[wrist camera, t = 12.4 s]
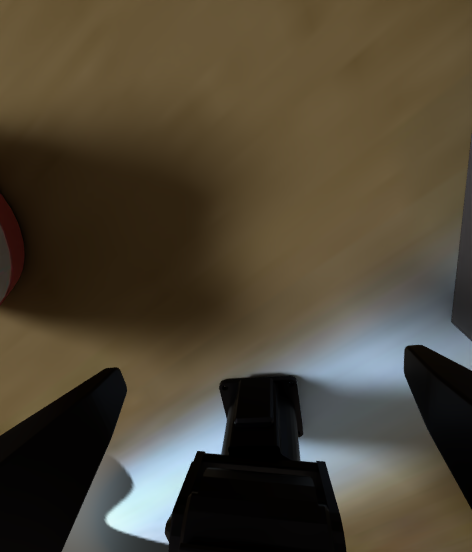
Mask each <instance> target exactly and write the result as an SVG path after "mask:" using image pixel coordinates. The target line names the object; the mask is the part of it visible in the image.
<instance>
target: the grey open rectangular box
mask: <svg viewBox="0 0 472 552" xmlns="http://www.w3.org/2000/svg"><path fill="white" fill-rule="evenodd" d="M451 322H452V323H453V324H454V325H455V326H456V327H457V328H458V329H459V330H460V331H461V332H462V333H464V334H465V335H466V336H467V337H468V338H469V339H470V340H471V341H472V136H471V145H470V154H469V164H468V173H467V182H466V191H465V200H464V209H463V218H462V228H461V237H460V246H459V255H458V264H457V273H456V282H455V291H454V301H453V310H452V319H451Z"/></svg>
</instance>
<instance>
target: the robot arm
mask: <svg viewBox="0 0 472 552" xmlns="http://www.w3.org/2000/svg"><path fill="white" fill-rule="evenodd" d="M404 374H405V377H406V380H407V382H408V385H409V387H410V389H411V392H412V394H413V396H414V399H415V401H416V404H417V406H418V408H419V411H420V413H421V416H422V418H423V420H424V422H425V425H426V427H427V429H428V431H429V433H430V435H431V437H432V439H433V440H434V442H435V444H436V446H437V448H438V449H439V451H440V453H441V455H442V457H443V459H444V460H445V462H446V464H447V466H448V468H449V469H450V471H451V473H452V475H453V477H454V478H455V480H456V482H457V484H458V486H459V487H460V489H461V491H462V493H463V495H464V496H465V498H466V500H467V502H468V504H469V506H470V507H471V509H472V371H471V370H469V369H467V368H465V367H463V366H462V365H460V364H458V363H456V362H454V361H452V360H450V359H448V358H446V357H444V356H442V355H440V354H438V353H437V352H435V351H433V350H431V349H429V348H427V347H425V346H423V345H410V346H407V347H406V348H405V352H404ZM289 382H293V383H289ZM224 386H227V387H224ZM219 389H220V393H221V397H222V401H223V405H224V409H225V413H226V417H227V423H226V429H225V435H224V441H223V447H222V453H221V454H209V453H205V452H203V451H197V453H196V456H195V458H194V461H193V462H192V463H191V465H190V468H189V470H188V473H187V475H186V478H185V481H184V483H183V486H182V488H181V491H180V493H179V496H178V498H177V501H176V504H175V506H174V509H173V512H172V514H171V516H170V517H169V519H168V521H167V523H166V527H165V535H166V537H167V539H168V541H169V552H346V544H345V537H344V531H343V526H342V521H341V517H340V513H339V509H338V506H337V502H336V499H335V495H334V492H333V488H332V485H331V481H330V478H329V474H328V471H327V467H326V463H325V462H323V461H316V462H305V461H300V451H299V441H298V437H301V436H302V435H303V427H302V419H301V411H300V403H299V395H298V387H297V380H296V378H295V377H293V376H283V377H267V378H251V379H234V380H223V381H221V382H220V386H219ZM126 393H127V386H126V383H125V381H124V378H123V376H122V373H121V371H120V369H119V368H117V367H114V368H106V369H104V370H102V371H101V372H99V373H98V374H96V375H94V376H93V377H91V378H90V379H88V380H87V381H85V382H83V383H82V384H80V385H79V386H77V387H76V388H74V389H73V390H71V391H69V392H68V393H66V394H65V395H63V396H62V397H60V398H58V399H57V400H55V401H54V402H52V403H51V404H49V405H48V406H46V407H44V408H43V409H41V410H40V411H38V412H37V413H35V414H33V415H32V416H30V417H29V418H27V419H26V420H24V421H22V422H21V423H19V424H18V425H16V426H15V427H13V428H12V429H10V430H8V431H7V432H5V433H4V434H2V435H1V436H0V552H61V551H62V549H63V547H64V545H65V542H66V540H67V538H68V536H69V534H70V531H71V529H72V527H73V524H74V522H75V520H76V518H77V515H78V513H79V511H80V508H81V506H82V504H83V502H84V499H85V497H86V495H87V493H88V490H89V488H90V486H91V484H92V481H93V479H94V476H95V474H96V472H97V470H98V467H99V465H100V463H101V461H102V459H103V456H104V454H105V452H106V449H107V447H108V445H109V442H110V440H111V438H112V435H113V432H114V429H115V426H116V423H117V420H118V417H119V414H120V411H121V408H122V405H123V402H124V399H125V396H126Z"/></svg>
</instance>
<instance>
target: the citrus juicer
mask: <svg viewBox="0 0 472 552" xmlns="http://www.w3.org/2000/svg"><path fill="white" fill-rule="evenodd" d="M24 257H25V253H24V242H23V238H22V234H21V231H20V227H19V225H18V222H17V220H16V218H15V216H14V214H13V212H12V210H11V208H10V207H9V205H8V204H7V202H6V201H5V199H4V197H3V196H2V195H1V193H0V305H1V304H2V302H3V301H4V300H5V298H6V297H7V296H8V294H9V293H10V292H11V290H12V289H13V287H14V286H15V284H16V283H17V281H18V280H19V278H20V275H21V273H22V270H23V266H24Z"/></svg>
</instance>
